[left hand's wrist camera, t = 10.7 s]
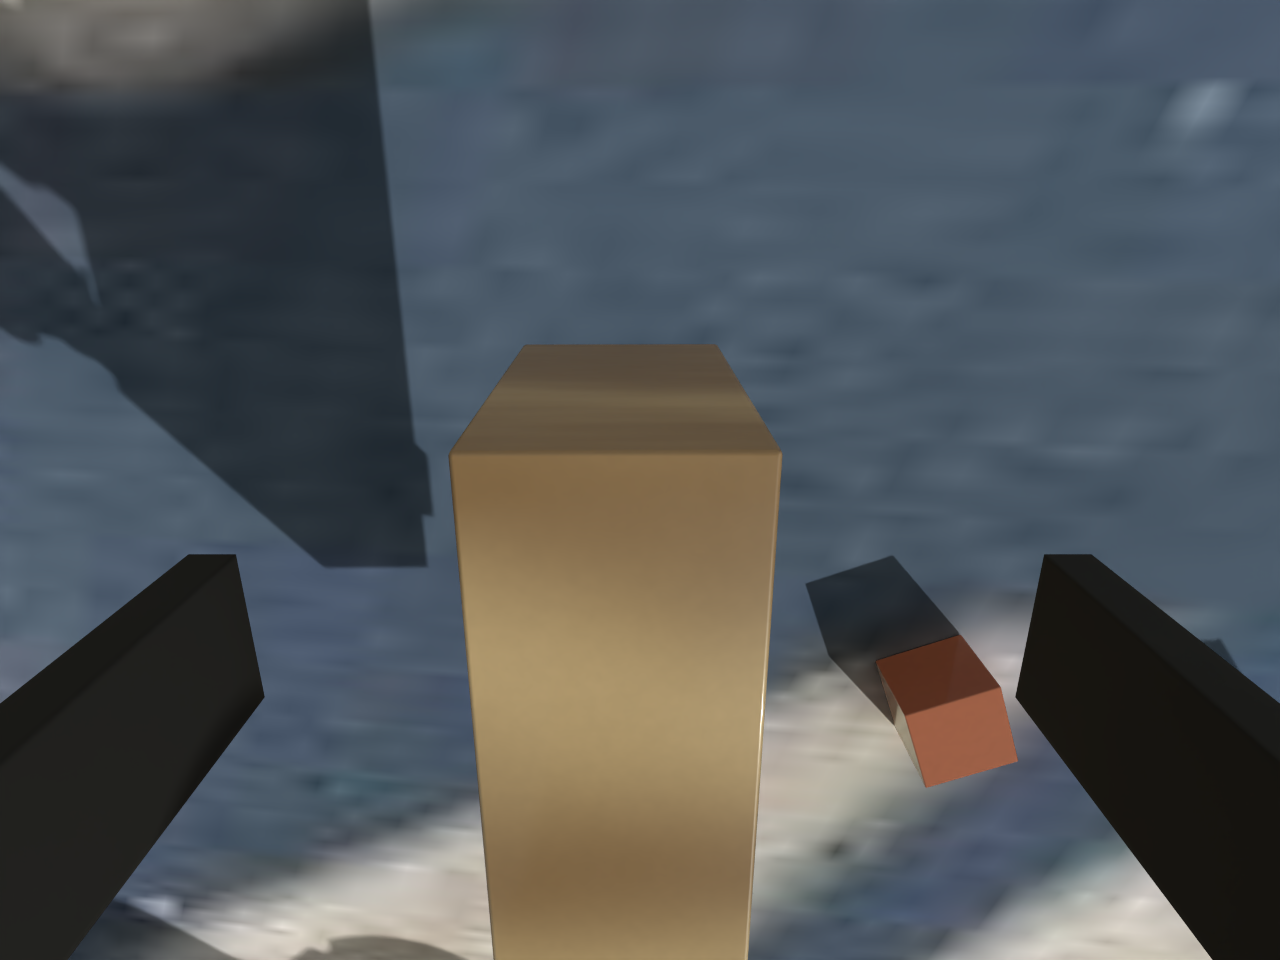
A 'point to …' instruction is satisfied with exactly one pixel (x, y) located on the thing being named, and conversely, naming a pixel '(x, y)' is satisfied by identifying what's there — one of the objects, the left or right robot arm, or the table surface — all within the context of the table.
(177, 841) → the table surface
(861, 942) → the table surface
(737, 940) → the birch beam
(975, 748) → the terracotta block
